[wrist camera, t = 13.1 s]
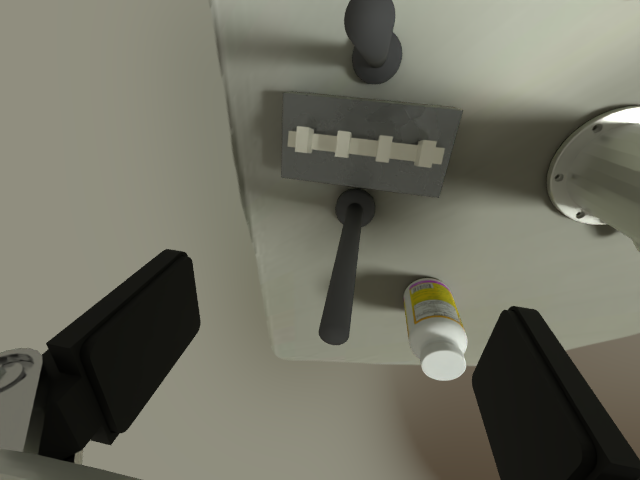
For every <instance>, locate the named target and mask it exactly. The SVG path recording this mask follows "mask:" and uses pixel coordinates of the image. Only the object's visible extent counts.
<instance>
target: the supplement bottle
mask: <svg viewBox="0 0 640 480" xmlns="http://www.w3.org/2000/svg"><path fill="white" fill-rule="evenodd" d="M404 308H405V315H406V323H407V331H408V339H409V345H410V348H411V350H412V352H413V353H414V354H415V356H416V357H418V358H419V359H420V363H421V367H422V370H423V372H424V373H425V374H426V375H428V376H429V377H431V378H433V379H436V380H452V379H455V378H457V377H458V376H460V375H461V374H462V373H463V372H464V371H465V369H466V361H465V358H464V352H465V351H466V348H467V336H466V333H465V330H464V327H463V325H462V322H461V319H460V316H459V313H458V311H457V308H456V305H455V302H454V299H453V297H452V294H451V291H450V289H449V288H448V286H447V285H446V284H444V283H443V282H441V281H439V280H437V279H432V278H423V279H419V280H416V281H414V282H413V283H411V284H410V285H409V286H408V287H407V288H406V290H405V292H404Z"/></svg>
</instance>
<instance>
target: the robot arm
mask: <svg viewBox="0 0 640 480" xmlns="http://www.w3.org/2000/svg"><path fill="white" fill-rule="evenodd" d="M594 126H595V127H594ZM593 127H594V128H593ZM556 175H557V177H555V176H556ZM547 191H548V195H549V197H550V199H551V202H552V203H553V204H554V206H555V207H556V208H557V209H558V210H559V211H560V212H561V213H563V214H564V215H566V216H567V217H569V218H570V219H572V220H575V221H578V222H580V223H585V224H591V225H607V224H608V225H610V226H611V227H613V228H615V229H616V230H618V231H619V232H621V233H623V234H624V235H626V236H627V237H629V238H631V239H632V241H633V243H634V245H635V246H636V248H637V250H638V251H639V252H640V106H627V107H623V108H619V109H614V110H611V111H609V112H606V113H604V114H601V115H599V116H597V117H595V118H593V119H592V120H590V121H588V122H586V123H585V124H584V125H582V126H581V127H580V128H578V129H577V130H576V131H574V132H573V133H572V134H571V135H570V136H569V137H568V138H567V139H566V140H565V141H564V142H563V144H562V145H561V146H560V148H559V149H558V151H557V152H556V154H555V156H554V158H553V160H552V161H551V164H550V167H549V170H548V174H547ZM199 328H200V315H199V307H198V301H197V293H196V286H195V278H194V271H193V263H192V260H191V258H189V257H188V255H187V254H186V253H185V252H182V251H176V250H169V249H166V250H164V251H162V252H161V253H160V254H159V255H158V256H156V257H155V258H153V259H152V260H151V261H150V262H148V263H147V264H146V265H145V266H143V267H142V268H141V269H140V270H138V271H137V272H136V273H134V274H133V275H132V276H131V277H129V278H128V279H127V280H126V281H124V282H123V283H122V284H121V285H119V286H118V287H117V288H115V289H114V290H113V291H112V292H110V293H109V294H108V295H107V296H105V297H104V298H103V299H102V300H100V301H99V302H98V303H96V304H95V305H94V306H93V307H92V308H90V309H89V310H88V311H86V312H85V313H84V314H83V315H82V316H80V317H79V318H77V319H76V320H75V321H74V322H73V323H71V324H70V325H69V326H67V327H66V328H65V329H64V330H62V331H61V332H60V333H59V334H57V335H56V336H55V337H54V338H52V339H51V340H50V341H48V342H47V343H46V344H47V346H48V350H47V351H46V352H45V353H44V354H42V355H41V354H40V353H39V352H38V351H37V350H33V349H30V348H19V349H13V350H8V351H4V352H1V353H0V480H141V479H137V478H133V477H129V476H125V475H121V474H117V473H113V472H109V471H105V470H101V469H97V468H93V467H88V466H84V465H82V455H83V448H84V447H85V446H86V444H87V443H88V442H89V441H90V439H91V440H92V441H96V442H100V443H104V444H108V445H111V444H112V443H113V441H114V440H115V439H116V437H117V436H118V435H119V433H123V432H125V431H126V430H127V429H128V428H129V427H130V425H131V424H132V423H133V421H134V420H135V419H136V417H137V416H138V415H139V413H140V412H141V410H142V409H143V408H144V406H145V405H146V403H147V402H148V401H149V399H150V398H151V397H152V395H153V394H154V392H155V391H156V390H157V388H158V387H159V385H160V384H161V382H162V381H163V380H164V378H165V377H166V376H167V374H168V373H169V372H170V370H171V369H172V367H173V366H174V365H175V363H176V362H177V360H178V359H179V358H180V356H181V355H182V353H183V352H184V351H185V349H186V348H187V346H188V345H189V344H190V342H191V341H192V340H193V338H194V337H195V335H196V334H197V332H198V331H199ZM472 386H473V390H474V393H475V396H476V399H477V403H478V406H479V409H480V413H481V416H482V419H483V422H484V426H485V429H486V432H487V436H488V439H489V442H490V446H491V449H492V452H493V456H494V459H495V462H496V465H497V469H498V472H499V476H500V478H501V480H640V460H639V458H638V457H637V456H636V454H635V452H634V451H633V449H632V448H631V446H630V445H629V444H628V442H627V441H626V439H625V438H624V436H623V435H622V433H621V432H620V431H619V429H618V428H617V426H616V425H615V423H614V422H613V420H612V419H611V417H610V416H609V414H608V413H607V412H606V410H605V408H604V407H603V406H602V404H601V403H600V401H599V400H598V398H597V397H596V395H595V394H594V392H593V391H592V389H591V388H590V387H589V385H588V384H587V382H586V381H585V379H584V378H583V376H582V375H581V374H580V372H579V371H578V369H577V368H576V366H575V365H574V363H573V362H572V360H571V359H570V357H569V356H568V354H567V353H566V351H565V350H564V348H563V347H562V346H561V344H560V343H559V341H558V340H557V338H556V337H555V335H554V334H553V332H552V331H551V329H550V328H549V326H548V325H547V324H546V322H545V321H544V319H543V318H542V316H541V315H540V313H539V312H538V311H537V310H534V309H528V308H522V307H516V306H512V307H510V308H509V309H508V310H503V311H502V313H501V314H500V316H499V319H498V321H497V323H496V325H495V327H494V329H493V332H492V334H491V336H490V338H489V340H488V342H487V345H486V347H485V349H484V351H483V353H482V355H481V358H480V360H479V362H478V364H477V366H476V368H475V371H474V373H473V376H472Z"/></svg>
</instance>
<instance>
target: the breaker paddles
mask: <svg viewBox="0 0 640 480" xmlns="http://www.w3.org/2000/svg"><path fill="white" fill-rule="evenodd" d="M351 137H352V133H351V132H347V131H338V134H337V136H331V135H322V134H314V129H311V128H309V127H301V126H297V131H296V132H295V131H289V134H288V147H295V152H302V153H312V149H313V150H321V151H330V152H335V157H344V158H349V154H355V155H364V156H372V157H376V158H375V161H377V162H386V163H389V158H390V159H398V160H407V161H414V166H420V167H428V168H431V167H432V164H442V159H443V155H444V150H445V148H439V147H436V143H437V141H429V140H421V141H418V145H412V144H403V143H394V142H392V139H393V136H384V135H380V136H379V139H378V141H376V140H367V139H358V138H351Z"/></svg>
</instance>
